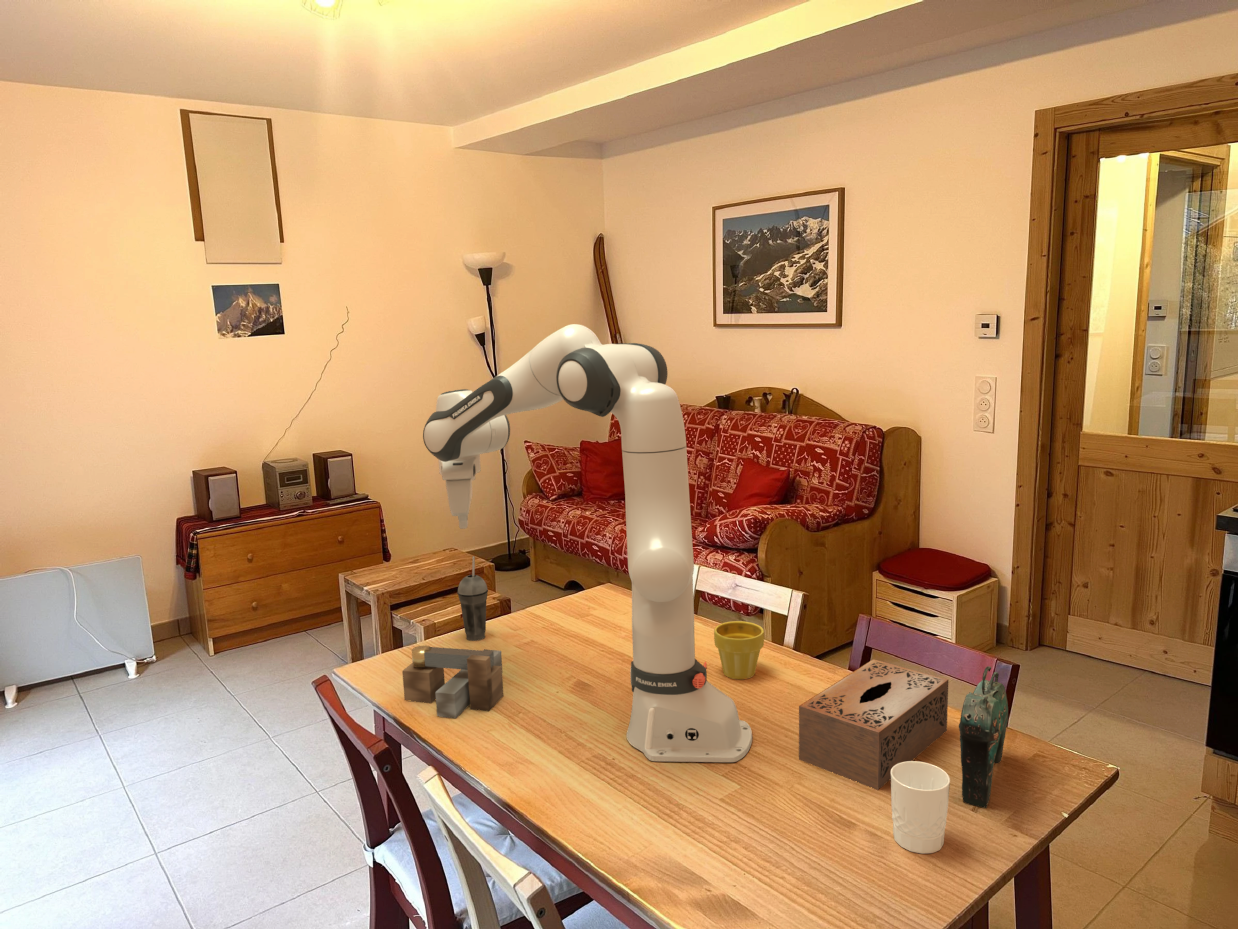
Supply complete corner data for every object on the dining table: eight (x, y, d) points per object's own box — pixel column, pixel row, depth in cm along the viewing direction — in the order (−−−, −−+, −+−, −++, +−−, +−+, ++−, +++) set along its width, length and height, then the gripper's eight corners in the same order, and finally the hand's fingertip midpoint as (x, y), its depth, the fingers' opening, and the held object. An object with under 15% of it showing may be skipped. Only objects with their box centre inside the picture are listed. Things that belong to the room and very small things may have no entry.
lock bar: (409, 666, 171) (408, 652, 171) (418, 658, 175) (417, 645, 174) (487, 672, 167) (486, 658, 166) (495, 664, 171) (494, 650, 170)
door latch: (523, 674, 182) (521, 628, 181) (479, 721, 162) (476, 669, 160) (444, 667, 188) (441, 622, 186) (391, 711, 167) (387, 661, 165)
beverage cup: (454, 640, 204) (448, 560, 200) (472, 630, 210) (467, 552, 207) (478, 644, 200) (473, 563, 197) (496, 634, 206) (492, 555, 203)
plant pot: (763, 684, 173) (763, 639, 172) (713, 682, 175) (712, 637, 174) (764, 664, 183) (764, 621, 182) (716, 662, 185) (715, 620, 184)
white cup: (934, 822, 125) (936, 759, 123) (957, 855, 117) (959, 789, 115) (881, 825, 125) (882, 762, 123) (900, 858, 117) (902, 792, 115)
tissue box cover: (877, 791, 134) (878, 732, 132) (798, 761, 144) (798, 705, 142) (946, 732, 152) (948, 679, 150) (872, 708, 162) (873, 659, 160)
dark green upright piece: (992, 816, 126) (997, 690, 122) (946, 804, 129) (950, 681, 126) (1012, 757, 142) (1018, 644, 139) (971, 748, 146) (976, 637, 142)
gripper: (448, 458, 192) (452, 517, 195) (441, 473, 172) (445, 539, 175) (476, 456, 193) (480, 515, 195) (472, 472, 173) (476, 537, 175)
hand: (463, 527), depth 185 cm, fingers closed
